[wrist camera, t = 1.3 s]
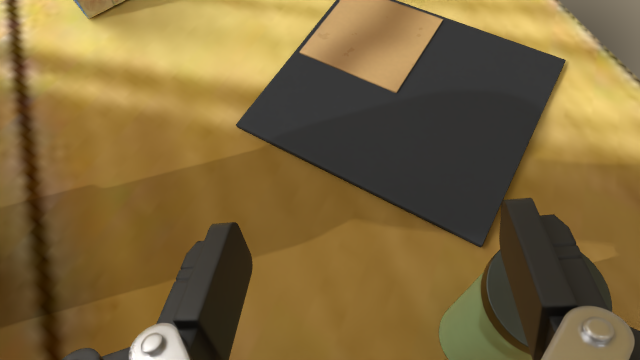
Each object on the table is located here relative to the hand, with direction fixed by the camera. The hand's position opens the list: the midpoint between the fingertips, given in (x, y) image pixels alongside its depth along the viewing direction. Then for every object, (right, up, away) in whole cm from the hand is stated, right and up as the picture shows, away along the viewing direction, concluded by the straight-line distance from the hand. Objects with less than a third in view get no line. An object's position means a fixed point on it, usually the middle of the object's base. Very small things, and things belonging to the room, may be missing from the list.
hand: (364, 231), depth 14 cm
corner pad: (+4, +15, +29) cm, 33 cm away
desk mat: (+6, +9, +26) cm, 28 cm away
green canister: (+9, -9, +16) cm, 20 cm away
